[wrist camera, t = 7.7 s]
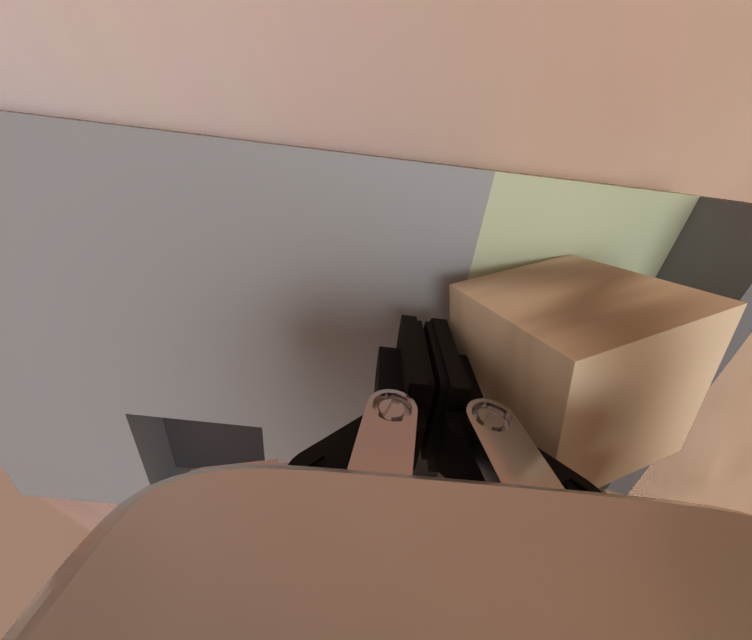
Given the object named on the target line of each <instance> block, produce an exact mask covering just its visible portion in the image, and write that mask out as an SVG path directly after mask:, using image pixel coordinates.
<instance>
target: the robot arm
mask: <svg viewBox="0 0 752 640" xmlns="http://www.w3.org/2000/svg"><path fill="white" fill-rule="evenodd" d="M420 451H421V458H422V460H427V464H428V471H429V472H439V473H440V474H441V475H442V476H444V478H441V477H430V476H418V475H412V474H413V470H414V469H415V468H416V464H417V460H418V456H419V452H420ZM1 640H752V515H750V514H747V513H743V512H740V511H735V510H730V509H725V508H720V507H715V506H709V505H702V504H695V503H687V502H680V501H673V500H665V499H656V498H646V497H637V496H628V495H623V494H620V493H616V492H613V491H609V490H606V489H604V491H603V492H601V491H600V490H599V489H598V488H597V487H596V486H595V485H593V484H592V483H591V482H590V481H588V480H587V479H585V478H584V477H582V476H581V475H579V474H578V473H576V472H575V471H573V470H571V469H570V468H568V467H567V466H565V465H564V464H562V463H561V462H559V461H558V460H556V459H555V458H553V457H552V456H550V455H549V454H547V453H546V452H544V451H542V450H541V449H539V448H538V447H536V445H535V444H534V442H533V441H532V439H531V438H530V436H529V435H528V433H527V432H526V430H525V429H524V428H523V426H522V425H521V423H520V422H519V420H518V419H517V417H516V416H515V415H514V413H513V412H512V411H511V410H510V409H509V408H507V407H506V406H505V405H503V404H501V403H499V402H497V401H494V400H490V399H484V397H483V395H482V392H481V390H480V387H479V385H478V382H477V380H476V377H475V375H474V372H473V370H472V367H471V364H470V362H469V359H468V357H467V356H466V355H461V354H459V352H458V350H457V347H456V344H455V341H454V339H453V336H452V333H451V330H450V327H449V325H448V322H447V320H446V319H437V318H431V320H430V321H425V324H424V329H423V324H422V321H420V320H417V317H416V316H408V315H402V316H401V320H400V327H399V333H398V339H397V346H396V348H392V347H383V346H379V350H378V357H377V365H376V375H375V388H374V393H373V394H372V395H371V396H370V397H369V399H368V401H367V404H366V407H365V410H364V414H363V415H362V416H360V417H358V418H357V419H355V420H353V421H352V422H350V423H348V424H347V425H345V426H344V427H342V428H340V429H339V430H337V431H335V432H334V433H332V434H330V435H329V436H327V437H325V438H324V439H322V440H320V441H319V442H317V443H315V444H314V445H312V446H310V447H309V448H307V449H305V450H304V451H302V452H300V453H299V454H298V455H296V456H295V457H294V458H292V460H291V461H290V462H285V463H278V459H272V460H263V461H254V462H245V463H236V464H227V465H218V466H209V467H202V468H198V469H194V470H191V471H189V472H187V473H183V474H179V475H175V476H172V477H169V478H166V479H164V480H161V481H159V482H156V483H154V484H151V485H149V486H147V487H145V488H143V489H141V490H140V491H138V492H136V493H134V494H133V495H132V496H130V497H129V498H127V499H126V500H125V501H123V502H122V503H121V504H119V505H118V506H117V507H116V508H115V509H114V510H113V511H111V512H110V513H109V514H108V515H107V516H106V517H105V518H104V519H103V520H102V521H101V522H100V523H99V524H98V525H97V526H96V527H95V528H94V529H93V530H92V531H91V532H90V533H89V534H88V536H87V537H86V538H85V539H84V540H83V541H82V542H81V543H80V544H79V546H78V547H77V548H76V549H75V550H74V551H73V552H72V554H71V555H70V556H69V557H68V558H67V559H66V560H65V562H64V563H63V564H62V565H61V566H60V568H59V569H58V570H57V571H56V572H55V574H54V575H53V576H52V577H51V579H50V580H49V581H48V582H47V583H46V584H45V586H44V587H43V588H42V589H41V590H40V592H39V593H38V594H37V595H36V597H35V598H34V599H33V600H32V602H31V603H30V604H29V605H28V606H27V608H26V609H25V610H24V611H23V613H22V614H21V615H20V617H19V618H18V619H17V620H16V622H15V623H14V624H13V626H12V627H11V628H10V629H9V631H8V632H7V633H6V634H5V636H4V637H3V638H2V639H1Z"/></svg>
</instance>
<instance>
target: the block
mask: <svg viewBox="0 0 752 640" xmlns="http://www.w3.org/2000/svg"><path fill="white" fill-rule="evenodd" d="M449 292H450V330H451V333H452V336H453V339H454V341H455V344H456V347H457V350H458V352H459V354H461V355H466V356H467V357H468V359H469V362H470V364H471V367H472V370H473V372H474V375H475V377H476V380H477V382H478V385H479V387H480V390H481V392H482V395H483V397H484V399H490V400H494V401H497V402H499V403H501V404H503V405H505V406H506V407H507V408H509V409H510V410H511V411H512V412H513V413H514V415H515V416H516V417H517V419H518V420H519V422H520V423H521V425H522V426H523V428H524V429H525V430H526V432H527V433H528V435H529V436H530V438H531V439H532V441H533V442H534V444H535V445H536V447H538V448H539V449H541V450H542V451H544V452H546V453H547V454H549V455H550V456H552V457H553V458H555V459H556V460H558V461H559V462H561V463H562V464H564V465H565V466H567V467H568V468H570V469H571V470H573V471H575V472H576V473H578V474H579V475H581V476H582V477H584V478H585V479H587V480H588V481H590V482H591V483H592V484H593V485H595V486H596V487H597V488H600V487H602V486H604V485H606V484H609V483H611V482H613V481H615V480H617V479H619V478H622V477H624V476H626V475H628V474H630V473H633V472H635V471H637V470H639V469H641V468H643V467H646V466H648V465H650V464H652V463H654V462H657V461H659V460H661V459H663V458H665V457H668V456H670V455H672V454H674V453H676V452H678V451H681V448H682V446H683V444H684V442H685V440H686V437H687V435H688V433H689V431H690V429H691V426H692V424H693V422H694V420H695V418H696V415H697V413H698V411H699V409H700V407H701V404H702V402H703V400H704V398H705V396H706V394H707V391H708V389H709V387H710V385H711V383H712V380H713V378H714V376H715V374H716V372H717V369H718V367H719V365H720V363H721V361H722V358H723V356H724V354H725V352H726V350H727V347H728V345H729V343H730V341H731V339H732V336H733V334H734V332H735V330H736V328H737V325H738V323H739V321H740V319H741V317H742V314H743V312H744V310H745V308H746V306H747V303H746V302H742V301H739V300H735V299H731V298H728V297H724V296H720V295H717V294H713V293H710V292H706V291H702V290H699V289H695V288H691V287H688V286H684V285H680V284H677V283H673V282H669V281H666V280H662V279H658V278H655V277H651V276H647V275H644V274H640V273H637V272H633V271H629V270H626V269H622V268H618V267H615V266H611V265H607V264H604V263H600V262H596V261H593V260H589V259H585V258H582V257H578V256H575V255H571V254H570V255H566V256H562V257H558V258H553V259H549V260H545V261H541V262H537V263H533V264H529V265H525V266H521V267H517V268H513V269H509V270H505V271H501V272H497V273H493V274H489V275H485V276H481V277H477V278H473V279H469V280H465V281H461V282H457V283H453V284H449Z"/></svg>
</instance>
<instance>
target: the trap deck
mask: <svg viewBox="0 0 752 640" xmlns="http://www.w3.org/2000/svg"><path fill="white" fill-rule="evenodd" d="M570 254H571V255H575V256H578V257H582V258H585V259H589V260H593V261H596V262H600V263H604V264H607V265H611V266H615V267H618V268H622V269H626V270H629V271H633V272H637V273H640V274H644V275H647V276H651V277H655V278H658V279H662V280H666V281H669V282H673V283H677V284H680V285H684V286H688V287H691V288H695V289H699V290H702V291H706V292H710V293H713V294H717V295H720V296H724V297H728V298H731V299H735V300H739V301H742V302H746V303H747V306H746V308H745V310H744V312H743V314H742V317H741V319H740V321H739V323H738V325H737V328H736V330H735V332H734V334H733V336H732V339H731V341H730V343H729V345H728V347H727V350H726V352H725V354H724V356H723V358H722V361H721V363H720V365H719V367H718V369H717V372H716V374H715V376H714V378H713V380H712V383H713V382H714V381H715V379H716V378H717V377H718V376H719V374H720V373H721V372H722V370H723V369H724V368H725V366H726V365H727V364H728V362H729V361H730V360H731V359H732V357H733V356H734V355H735V353H736V352H737V351H738V349H739V348H740V347H741V346H742V344H743V343H744V342H745V340H746V339H747V338H748V336H749V335H750V334H751V332H752V203H748V202H740V201H733V200H726V199H719V198H712V197H704V196H697V195H690V194H683V193H676V192H668V191H660V190H652V189H644V188H635V187H627V186H619V185H611V184H603V183H594V182H586V181H578V180H570V179H562V178H553V177H545V176H537V175H529V174H521V173H512V172H504V171H496V170H488V169H480V168H471V167H463V166H455V165H447V164H439V163H430V162H422V161H414V160H406V159H397V158H389V157H381V156H373V155H365V154H356V153H348V152H340V151H332V150H324V149H315V148H307V147H299V146H291V145H283V144H274V143H266V142H258V141H250V140H242V139H233V138H225V137H217V136H209V135H201V134H192V133H184V132H176V131H168V130H160V129H151V128H143V127H135V126H127V125H119V124H110V123H102V122H94V121H86V120H78V119H69V118H61V117H53V116H45V115H36V114H28V113H20V112H12V111H4V110H0V465H1V466H2V468H3V469H4V471H5V472H6V474H7V475H8V477H9V478H10V480H11V481H12V483H13V484H14V486H15V487H16V489H17V490H18V492H19V493H20V495H28V496H38V497H49V498H59V499H70V500H81V501H91V502H102V503H112V504H121V503H122V502H123V501H125V500H126V499H127V498H129V497H130V496H132V495H133V494H134V493H136V492H138V491H140V490H141V489H143V488H145V487H147V486H149V485H151V484H154V483H156V482H159V481H161V480H164V479H166V478H169V477H172V476H175V475H179V474H183V473H187V472H189V471H191V470H194V469H198V468H202V467H209V466H218V465H227V464H236V463H245V462H254V461H263V460H272V459H278V463H285V462H290V461H291V460H292V458H294V457H295V456H296V455H298V454H299V453H300V452H302V451H304V450H305V449H307V448H309V447H310V446H312V445H314V444H315V443H317V442H319V441H320V440H322V439H324V438H325V437H327V436H329V435H330V434H332V433H334V432H335V431H337V430H339V429H340V428H342V427H344V426H345V425H347V424H348V423H350V422H352V421H353V420H355V419H357V418H358V417H360V416H362V415H363V414H364V410H365V407H366V404H367V401H368V399H369V397H370V396H371V395H372V394H373V393H374V388H375V375H376V365H377V357H378V350H379V346H383V347H392V348H396V346H397V339H398V333H399V327H400V320H401V316H402V315H408V316H416V317H417V320H420V321H422V324H423V329H424V324H425V321H430V320H431V318H437V319H446V320H447V322H448V325H449V327H450V292H449V284H453V283H457V282H461V281H465V280H469V279H473V278H477V277H481V276H485V275H489V274H493V273H497V272H501V271H505V270H509V269H513V268H517V267H521V266H525V265H529V264H533V263H537V262H541V261H545V260H549V259H553V258H558V257H562V256H566V255H570ZM712 383H711V385H712ZM711 385H710V386H711ZM648 467H649V465H648V466H646V467H643V468H641V469H639V470H637V471H635V472H633V473H630V474H628V475H626V476H624V477H622V478H619V479H617V480H615V481H613V482H611V483H609V484H606V485H604V486H602V487H600V488H598V489H599V490H600V491H601V492H603V491H604V489H606V490H609V491H613V492H616V493H620V494H623V495H627V494H628V493H629V492H630V490H631V489H632V488H633V486H634V485H635V484H636V482H637V481H638V480H639V479H640V477H641V476H642V475H643V473H644V472H645V471H646V469H647V468H648ZM412 475H418V476H430V477H441V478H444V476H442V475H441V474H440V473H439V472H429V471H428V464H427V460H422V458H421V451H420V452H419V456H418V460H417V464H416V468H415V469H414V470H413V474H412Z"/></svg>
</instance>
